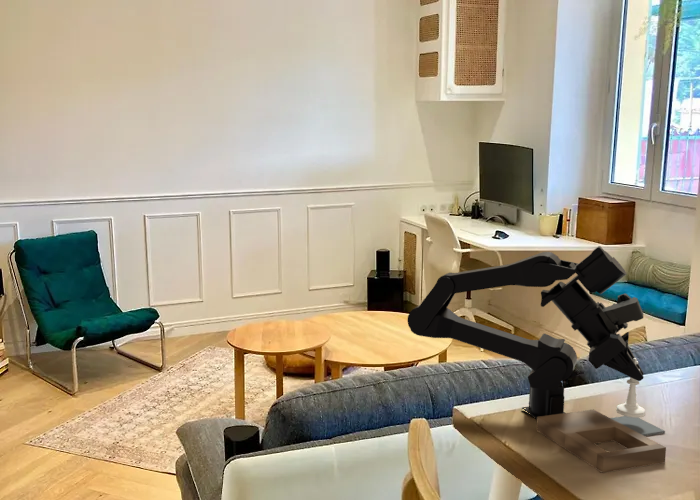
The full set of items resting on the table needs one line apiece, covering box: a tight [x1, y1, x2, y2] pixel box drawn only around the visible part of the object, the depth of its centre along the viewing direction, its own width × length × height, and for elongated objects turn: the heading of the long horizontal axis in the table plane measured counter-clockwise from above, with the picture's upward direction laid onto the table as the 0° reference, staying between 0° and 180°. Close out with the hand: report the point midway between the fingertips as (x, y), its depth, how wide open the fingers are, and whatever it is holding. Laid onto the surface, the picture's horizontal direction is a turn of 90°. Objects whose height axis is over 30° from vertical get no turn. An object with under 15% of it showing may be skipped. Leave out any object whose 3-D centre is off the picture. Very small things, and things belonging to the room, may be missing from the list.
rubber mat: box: [610, 415, 666, 437], centre depth 125 cm, size 8×8×1 cm
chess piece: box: [615, 357, 646, 418], centre depth 124 cm, size 5×5×10 cm
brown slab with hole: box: [536, 408, 667, 474], centre depth 117 cm, size 18×12×2 cm
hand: (641, 377), depth 124 cm, fingers closed on chess piece
